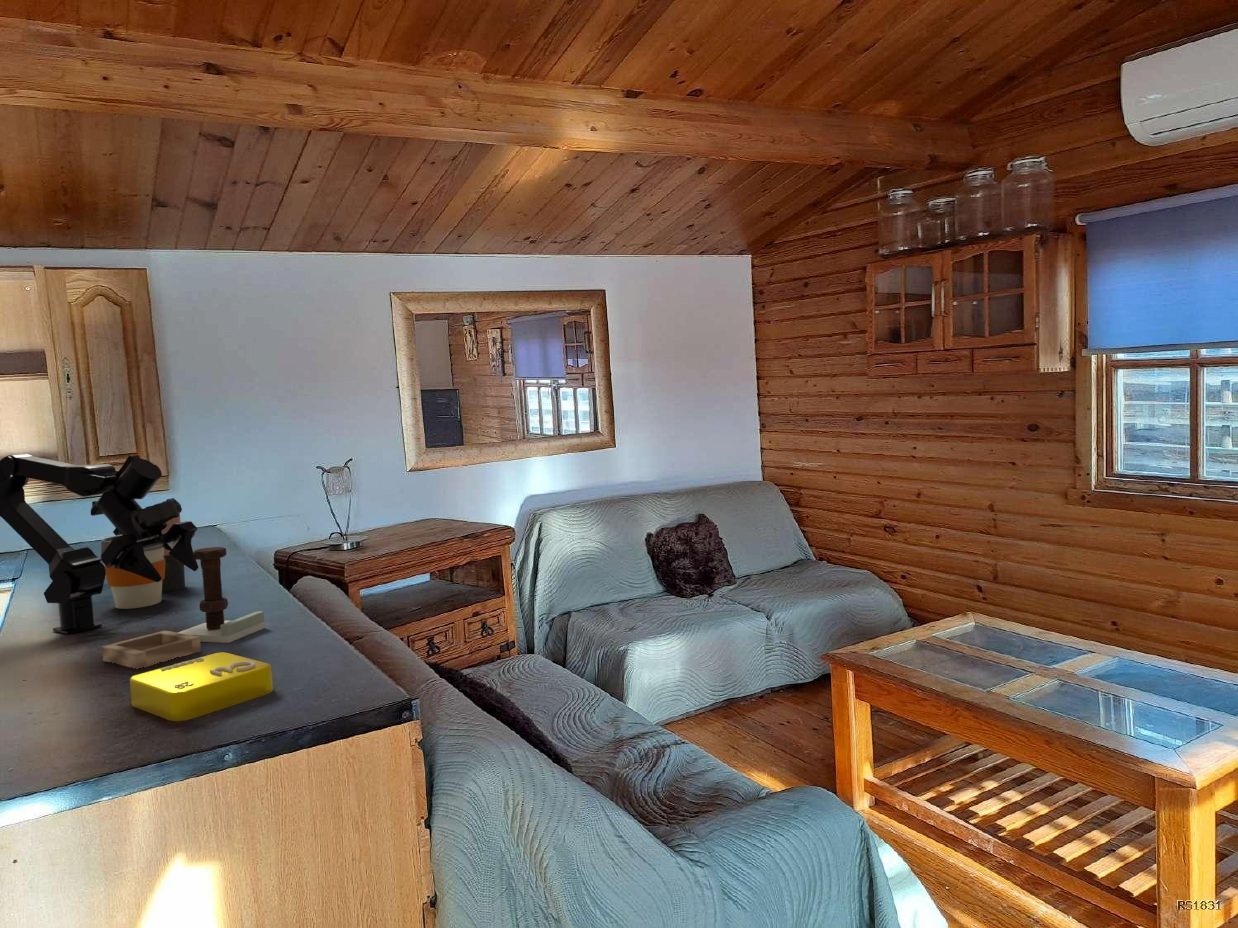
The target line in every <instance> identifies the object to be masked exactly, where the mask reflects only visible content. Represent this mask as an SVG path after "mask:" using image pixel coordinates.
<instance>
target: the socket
mask: <svg viewBox="0 0 1238 928" xmlns="http://www.w3.org/2000/svg"><path fill="white" fill-rule="evenodd" d="M101 652H102V660H103V662H106V663H107V662H108V663H110V662H112V663H111V664H114V663H116V664H115V665H118V664H119V665H120V666H123V667H127V668H131V667H132V668H131V669H135V668H136V669H135V670H140V669H139V668H141V669H143V668H142V667H144V668H148V667H151V666H154V664H155V665H158V664H160V663H159V662H162V663H165V662H168V660H169V661H171V659H172V660H175V659H174V658H176V657H179V658H182V656H183V657H185V656H188V655H193V654H195V653H199V652H202V647H201V642H200V637H196V636H191V635H186V634H181V633H178V632H174V631H170V630H165V629H164V630H161V631H157V632H153V633H150V634H144V635H141V636H138V637H135V638H134V637H133V638H130V639H126V640H122V641H118V642H114V643H110V644H107V645H102V646H101ZM176 659H177V658H176ZM157 663H158V664H157ZM119 665H118V666H119Z"/></svg>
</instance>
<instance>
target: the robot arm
mask: <svg viewBox="0 0 1238 928" xmlns="http://www.w3.org/2000/svg"><path fill="white" fill-rule="evenodd" d="M162 475H163V473H162V471H161V469H160V467H159V466H158V465H157V464H154V463H153V462H151V461H150V460H148V459H144V458H142V457H140V456H139V455H138V454H133V455H128V456H127V458H125V461H124V463H123V464H122V466H121V467H120V468H119V470H118V469H116V467H115V466H113V465H111V464H107V463H105V464H103V463H101V464H100V463H99V464H97V463H95V464H94V463H92V464H73V463H69V462H68V463H67V462H63V461H60V460H59V461H58V460H53V459H48V458H43V457H39V456H34V455H31V454H29V453H20V454H9V455H6V456H4V457H3V458H1V459H0V517H1V518H2V519H3V521H4V522H5V523H7V524H8V525H9V526H10V527H11V528H12V529H13V530H14V531H15V532H16V533H17V535H19V537H21V538H22V539H23V540H24V541H25V542H26V543H27V544H28V546H30V547H31V548H32V549H33V550H34V551H35V552H36V554H38V555H39V556H40V557H41V558H42V559H43V560H44V562H46V563H47V565H48V571H49V578H50V579H51V583H50V584H49V585H48V586H47V588H46V589H45V591H44V592H43V596H44V598H45V601H46V603H48V604H58V614H59V617H58V618H59V625H60V626H58V627H57V626H56V627H53V628H52V631H53V632H58V633H62V634H67V635H71V634H75V633H78V632H79V633H80V632H83V631H88V630H91V629H97V628H100V627H103V623H101V622H96V621H95V616H94V607H93V606H94V604H93V597H92V596H95V595H100V594H102V593H103V589H104V583H105V580H106V572H105V570H106V569H105V567H104V565H106V566H107V567H108V568H109V567H113V566H114V568H115V569H122V570H125V571H128V572H132V573H135V574H137V575H140V576H142V577H145V578H148V579H150V580H153V581H155V582H160V580H161V579H162V578H161V576H160V574H159V573H158V571H157V570H156V569H155V568H154V566H153V565H152V564H151V562H150V561H149V560H148V559H147V557H146V556H145V554H144V549H147V548H151V547H155V546H159V545H162V546H163V547H164V548H165V549H166V550H169V551H170V552H169V554H170V555H171V556H172V557H174V558H175V559H177V560H178V561H180V562H181V563H182V564H184V567H187V568H188V569H190V570H192V571H193V572H196V571H197V570H198V569H199V565H198V562H197V560H194V558H193V553H194V549H193V545H192V539H193V538H194V537H195V534H196V532H197V531H198V527H197V526H196V524H194V523H193V521H190V520H189V521H188V520H186V521H180V523H176V524H173V525H172V526H171V528H170V529H169V530H168V531H167V533H164V534H162V532H161V531H162V530H163V529H165V528H166V526H167V524H166V523H165V522H167V521H169V520H171V519H173V518H177V517H178V516H179V514H178V513H180V514H181V513H182V512H183V511H182V510H183V509H182V508H183V507H182V505H181V504H180V502H179V501H177V499H175V498H174V497H172V498H167V499H166V500H164V501H162V502H157V503H155V504H153V505H150V506H151V507H149V508H146V507H144V508H143V507H142V506H141V505H140V504H139V503H138V502H137V501H136V500H143V499H144V498H145V497H147V495H148V493H150V491H152V489H153V487H154V486H155V485H156V484H157V482H158V481H159V480H160V479H161V478H162ZM29 479H33V480H37V481H42V482H47V483H53V484H56V485H57V484H58V485H60V486H63V487H64V488H66V490H67V491H68V492H71V493H73V494H76V495H78V496H80V497H82V498H83V497H85V498H86V497H93V496H98V495H99V496H100V495H101V496H100V497H99V498H98V500H95V501H92V502H91V509H90V516H92V517H93V516H99V515H104V516H105V517H106V518H107V519H108V521H109V522H110V523H111V524H112V526H113V527H115V529H114V530H113V531H112V533H113V535H114V536H118V537H114V538H112V540H111V541H110V542H109V544H108V545H107V546H106V548H105V549H104V550H103V552H102V553H101V552H100V557H98V556H97V555H96V554H95V553H94V551H93V550H92V549H91V548H89V547H88V546H85V547H80V548H73V547H72V546H71V545H70V544H69V543H68V542H67V541H66V540H65V539H64V538H62V536H61V534H60V535H59V533H57V531H55V529H54V528H53V527H52V526H51V525H50V524H49V523H48V522H46V521H45V519H44V518H42V517H41V515H40V514H38V512H36V510H34V509H33V507H32V506H30V505H29V504H28V503H27V502H26V497H25V496H26V495H25V489H24V487H25V486H26V485H27V484H28V482H29ZM119 535H122V536H119Z"/></svg>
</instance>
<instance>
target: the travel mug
mask: <svg viewBox="0 0 1238 928" xmlns="http://www.w3.org/2000/svg"><path fill="white" fill-rule="evenodd" d="M151 506H152V505H149V506H145V508H149V507H151ZM178 514H179V516H178V517H177V518H173V519H171V520H169V521H167V522H165V523H166V524H167V526H166V528H165V529H163V530H162V531H161V532H162V533H163V534H164V533H167V531H168V530H169V529H170V528H171V526H172V525H173V524H176V523H180V522H181V512H180V513H178ZM169 552H170V551H169V550H166V549H165V548H164V558H165V559H166V560H165V578H164V579H163V580H162V593H168V592H174V591H179V590H182V589H185V588H186V580H185V579H186V576H185V565H184V564H182V563H181V562H180V561H178V560H177V559H175V558H174V557H172V556H171V555H170V554H169Z"/></svg>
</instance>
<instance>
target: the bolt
mask: <svg viewBox="0 0 1238 928" xmlns="http://www.w3.org/2000/svg"><path fill="white" fill-rule="evenodd" d="M225 556H227V548H225V547H223V546H210V547H203V548H197V549H195V550H193V558H194V560H196V561H197V560H199V561H200V562H199V563H200V568H201V576H202V586H203V587H202V590H203V591H202V592H203V599H201V600H200V602H199V610H200V612H202V613H205V623H207V624H206V625H207V626H206V628H207V629H208V630H214V629H220V625H222V624H224V623H225V622H224V620H225V613H224V610H227V608H228V606H229V602H228V601H229V600H228V599H227V598H226V597H223V587H222V586H223V584H222V571H221V569H222V568H221V564H222V562H221V558H224V557H225Z"/></svg>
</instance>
